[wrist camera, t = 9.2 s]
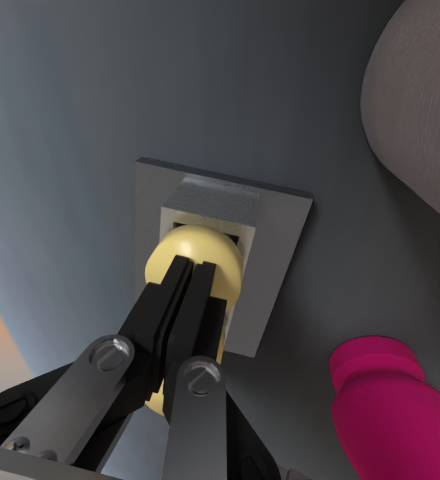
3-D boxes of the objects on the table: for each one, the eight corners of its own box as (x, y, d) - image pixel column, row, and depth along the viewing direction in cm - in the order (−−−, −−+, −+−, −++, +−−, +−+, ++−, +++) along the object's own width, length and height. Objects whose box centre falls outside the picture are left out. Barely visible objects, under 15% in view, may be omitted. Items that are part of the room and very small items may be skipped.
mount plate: (142, 156, 16) (96, 186, 12) (310, 192, 16) (325, 236, 12) (139, 319, 24) (111, 373, 19) (254, 347, 23) (251, 408, 19)
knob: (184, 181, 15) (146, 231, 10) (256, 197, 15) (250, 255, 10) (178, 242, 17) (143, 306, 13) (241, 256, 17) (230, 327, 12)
